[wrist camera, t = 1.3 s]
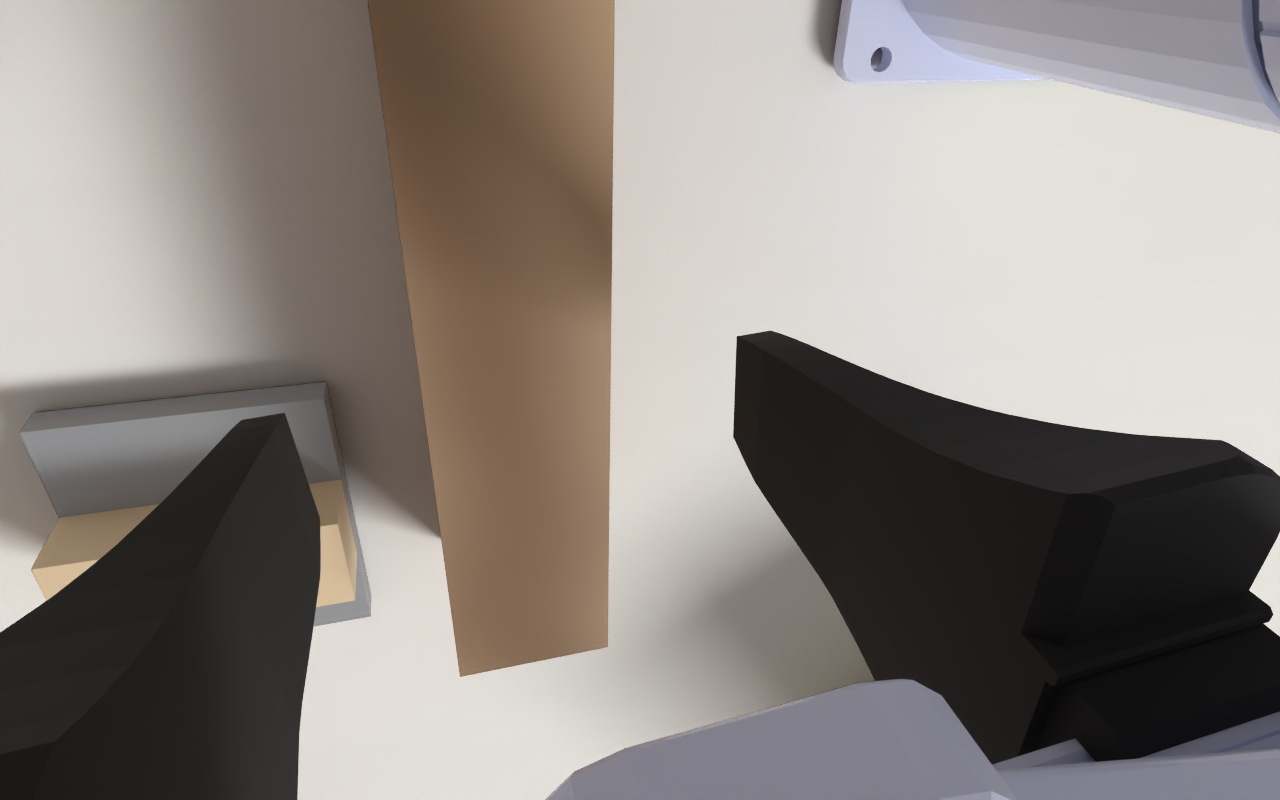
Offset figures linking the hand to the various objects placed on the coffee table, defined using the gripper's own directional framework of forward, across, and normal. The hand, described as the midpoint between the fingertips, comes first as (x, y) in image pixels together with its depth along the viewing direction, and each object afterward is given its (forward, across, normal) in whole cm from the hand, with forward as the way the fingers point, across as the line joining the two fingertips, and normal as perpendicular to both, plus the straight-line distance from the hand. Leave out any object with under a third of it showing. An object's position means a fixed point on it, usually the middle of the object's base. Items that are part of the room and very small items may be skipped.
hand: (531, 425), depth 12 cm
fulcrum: (+7, +7, +6) cm, 11 cm away
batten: (+7, 0, 0) cm, 7 cm away
